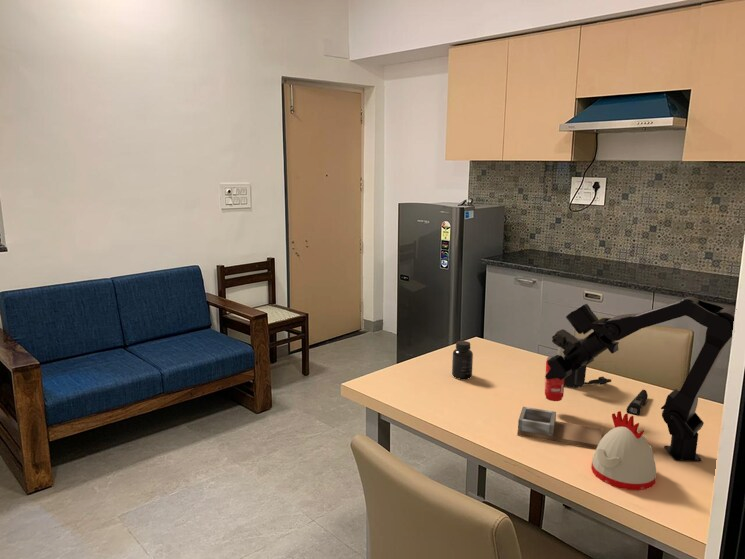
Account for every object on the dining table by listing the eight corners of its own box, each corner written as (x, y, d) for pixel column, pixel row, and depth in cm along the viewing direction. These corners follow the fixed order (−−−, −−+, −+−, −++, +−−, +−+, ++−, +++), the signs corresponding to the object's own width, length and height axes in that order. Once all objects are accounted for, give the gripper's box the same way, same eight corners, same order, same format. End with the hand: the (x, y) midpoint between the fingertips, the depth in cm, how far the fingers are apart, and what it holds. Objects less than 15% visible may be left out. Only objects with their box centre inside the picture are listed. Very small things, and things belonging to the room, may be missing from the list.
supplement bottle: (448, 374, 195) (449, 341, 193) (464, 371, 198) (465, 338, 196) (459, 381, 189) (460, 347, 187) (476, 378, 192) (477, 344, 189)
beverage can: (542, 399, 164) (544, 360, 162) (546, 393, 168) (548, 355, 166) (561, 403, 162) (563, 363, 159) (564, 396, 166) (566, 357, 164)
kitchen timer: (618, 453, 143) (623, 398, 140) (668, 480, 131) (675, 420, 128) (578, 467, 136) (583, 409, 133) (628, 496, 125) (634, 434, 121)
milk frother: (548, 379, 191) (551, 337, 188) (586, 373, 196) (589, 332, 193) (577, 395, 178) (581, 350, 175) (617, 389, 183) (621, 345, 180)
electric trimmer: (650, 400, 176) (651, 390, 175) (639, 417, 164) (640, 406, 163) (637, 397, 178) (638, 387, 178) (625, 413, 166) (626, 403, 165)
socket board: (601, 432, 154) (602, 418, 153) (601, 449, 145) (602, 434, 144) (522, 419, 161) (523, 405, 160) (517, 435, 152) (518, 420, 151)
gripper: (586, 316, 164) (548, 345, 174) (555, 330, 151) (517, 360, 161) (611, 348, 160) (571, 375, 170) (582, 365, 147) (541, 393, 157)
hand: (550, 375), depth 165 cm, fingers closed on beverage can, 5 cm apart
